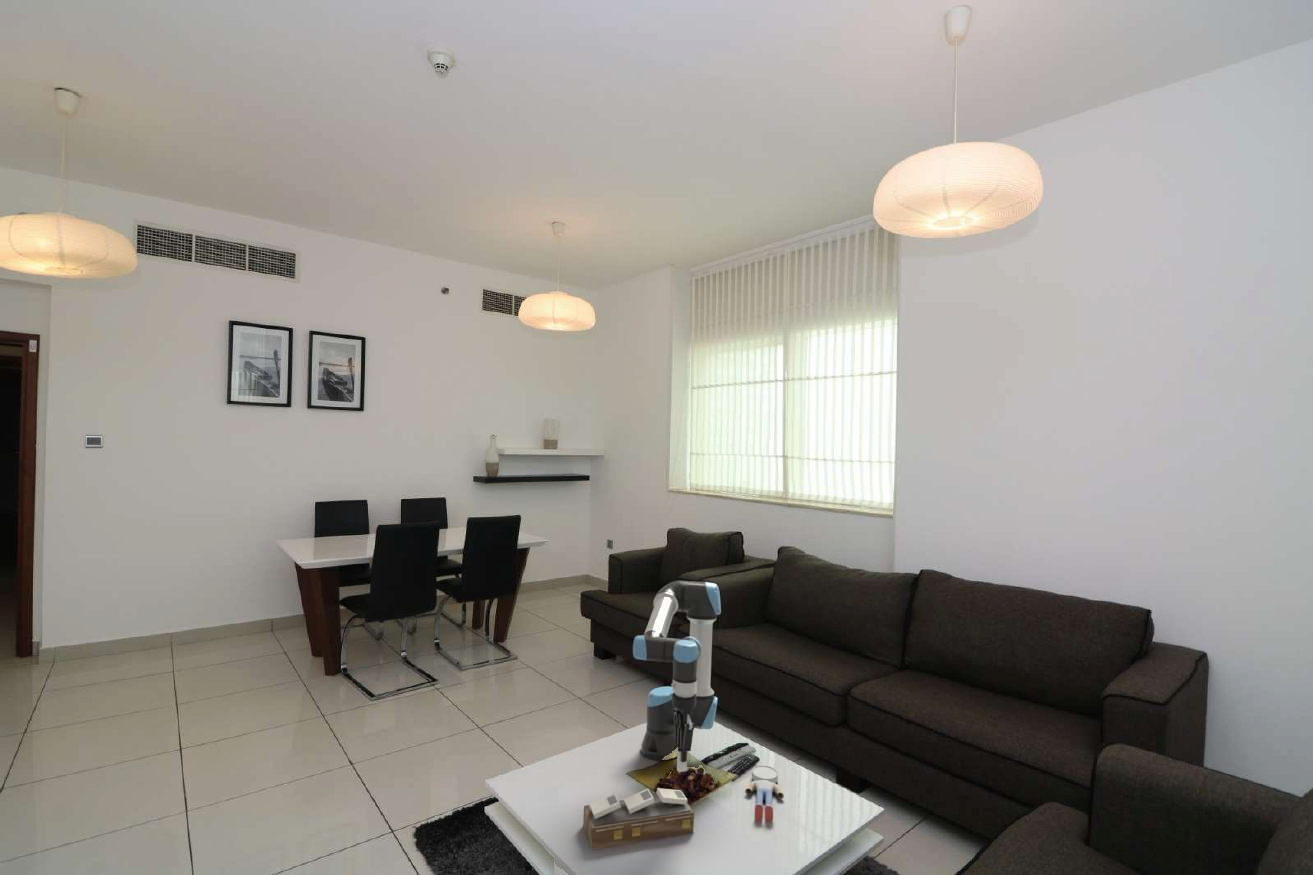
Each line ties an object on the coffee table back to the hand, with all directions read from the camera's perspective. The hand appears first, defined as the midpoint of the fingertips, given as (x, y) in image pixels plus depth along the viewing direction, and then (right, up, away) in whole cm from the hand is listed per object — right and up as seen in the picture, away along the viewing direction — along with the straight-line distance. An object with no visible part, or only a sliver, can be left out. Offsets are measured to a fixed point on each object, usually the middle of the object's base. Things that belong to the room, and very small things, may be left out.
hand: (681, 770), depth 191 cm
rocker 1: (-23, -6, -8) cm, 25 cm away
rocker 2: (-3, -7, -1) cm, 8 cm away
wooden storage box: (-13, -15, -5) cm, 21 cm away
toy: (+28, -18, +17) cm, 37 cm away
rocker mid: (-13, -7, -5) cm, 15 cm away
